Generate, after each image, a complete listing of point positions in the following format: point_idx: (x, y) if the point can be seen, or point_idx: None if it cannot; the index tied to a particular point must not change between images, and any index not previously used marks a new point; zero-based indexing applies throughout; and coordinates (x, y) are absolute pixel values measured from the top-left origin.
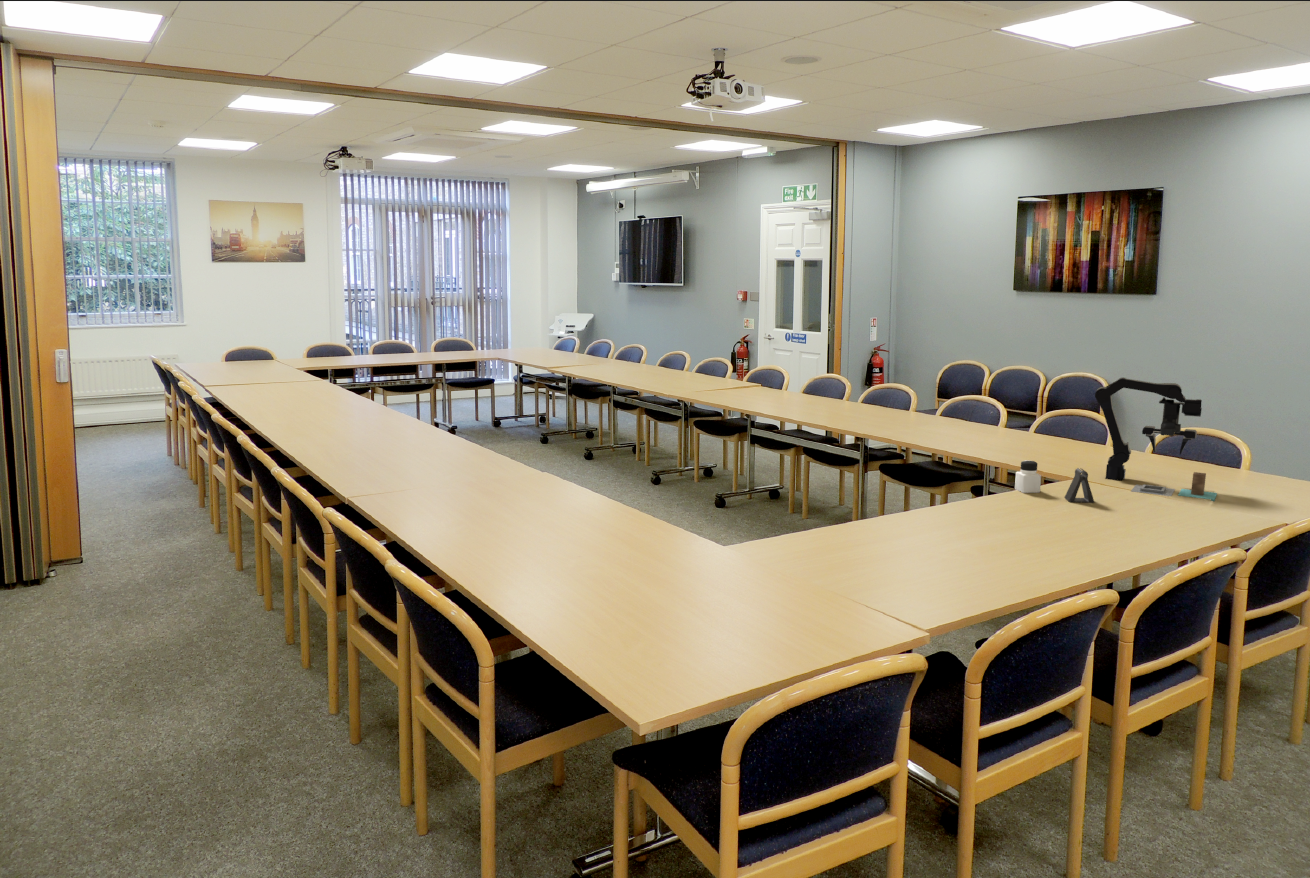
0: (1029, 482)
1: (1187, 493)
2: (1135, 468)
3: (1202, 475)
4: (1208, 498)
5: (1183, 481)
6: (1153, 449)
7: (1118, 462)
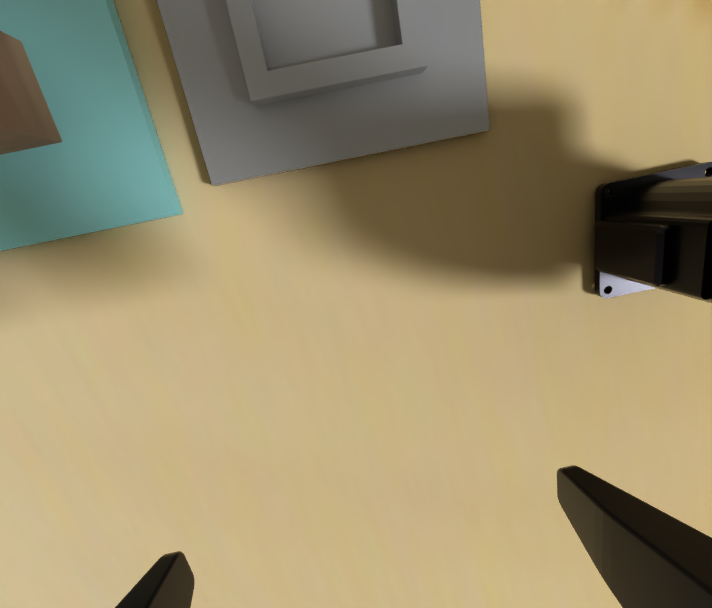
0: None
1: (55, 51)
2: (582, 595)
3: None
4: None
5: (292, 490)
6: (611, 489)
7: None
